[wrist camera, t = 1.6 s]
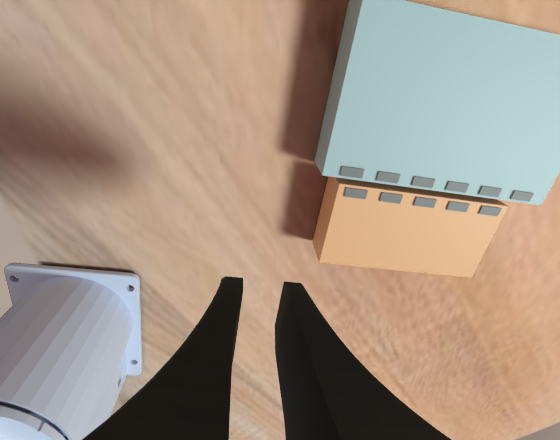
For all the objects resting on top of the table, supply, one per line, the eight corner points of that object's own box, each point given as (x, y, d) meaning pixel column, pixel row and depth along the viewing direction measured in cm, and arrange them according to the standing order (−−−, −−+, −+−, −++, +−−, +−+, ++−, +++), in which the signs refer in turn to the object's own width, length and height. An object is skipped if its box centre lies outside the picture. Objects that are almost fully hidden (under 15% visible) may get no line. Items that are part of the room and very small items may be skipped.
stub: (450, 256, 23) (472, 278, 20) (312, 241, 21) (319, 263, 19) (481, 190, 20) (509, 206, 18) (329, 169, 19) (339, 184, 17)
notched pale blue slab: (510, 189, 21) (542, 205, 18) (314, 161, 19) (322, 176, 17) (580, 51, 17) (630, 49, 15) (348, 1, 16) (365, -9, 13)
